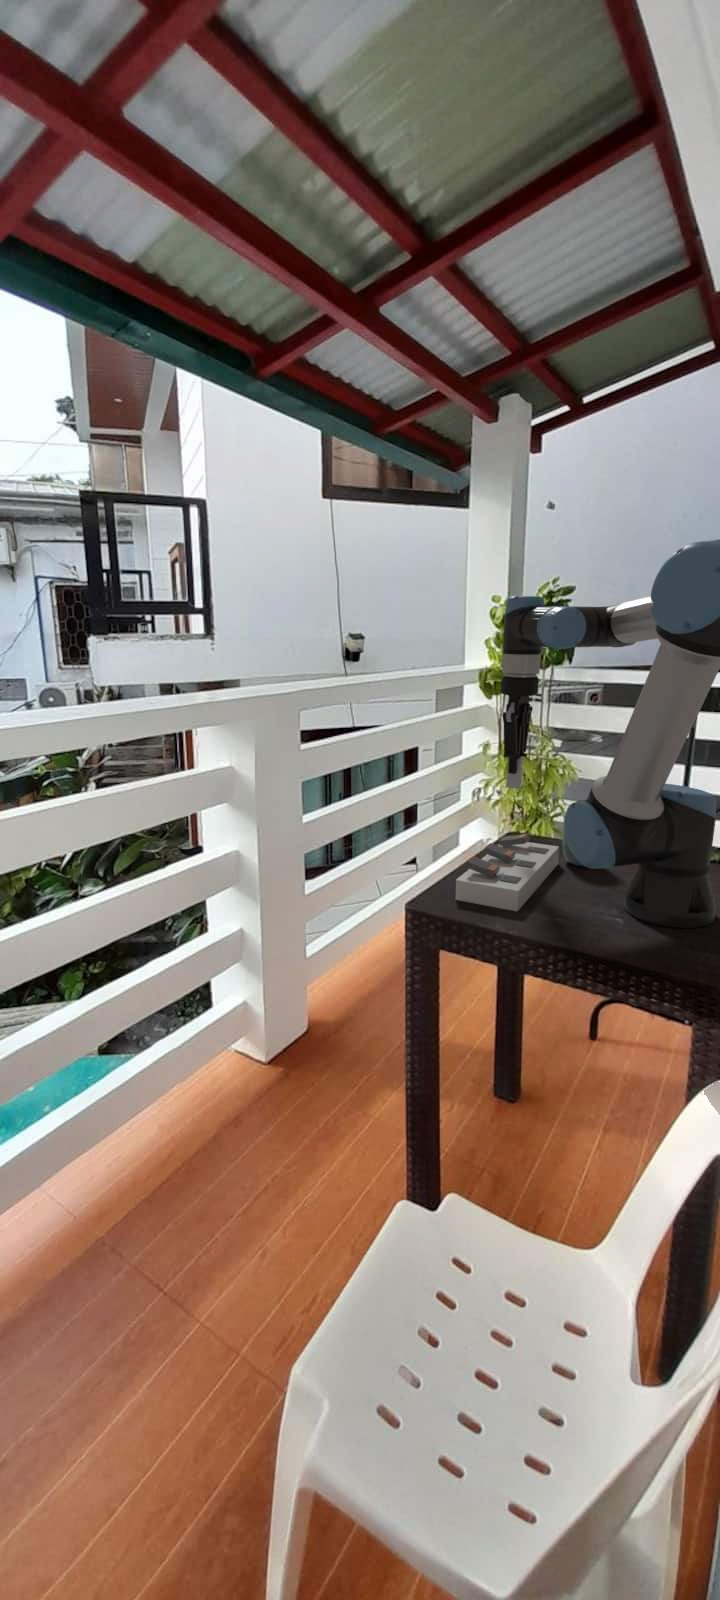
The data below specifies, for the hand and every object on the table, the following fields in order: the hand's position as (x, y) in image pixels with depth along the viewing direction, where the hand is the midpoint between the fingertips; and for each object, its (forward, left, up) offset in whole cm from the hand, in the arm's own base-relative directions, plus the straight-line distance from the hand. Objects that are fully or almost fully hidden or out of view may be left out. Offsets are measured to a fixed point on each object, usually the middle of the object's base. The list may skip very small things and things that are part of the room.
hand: (513, 787), depth 148 cm
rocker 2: (-1, +10, -12) cm, 15 cm away
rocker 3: (-1, 0, -12) cm, 12 cm away
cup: (-13, -8, -18) cm, 23 cm away
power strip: (-3, +5, -17) cm, 18 cm away
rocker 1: (-1, +20, -12) cm, 23 cm away
